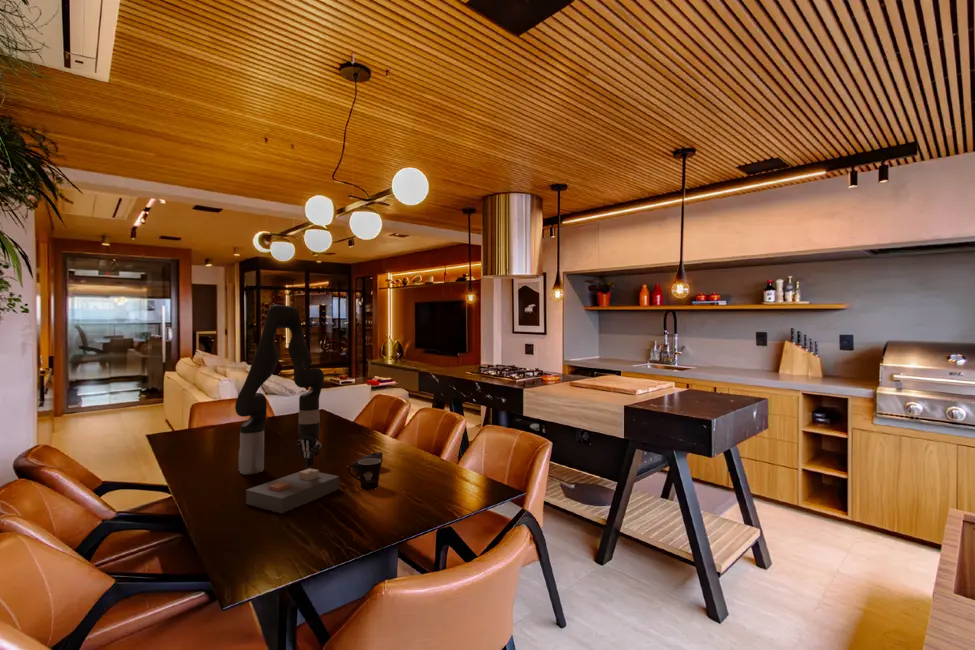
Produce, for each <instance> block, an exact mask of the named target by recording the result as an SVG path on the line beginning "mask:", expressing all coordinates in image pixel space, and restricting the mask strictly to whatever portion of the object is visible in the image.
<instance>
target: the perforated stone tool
mask: <svg viewBox="0 0 975 650" xmlns="http://www.w3.org/2000/svg"><path fill="white" fill-rule="evenodd" d="M368 458H376V459H380V460H381V465H380V469H381V468H382V465H383V452H382V451H379V452H373V453H370V454H366V455H364V456H362V457H359V458H358V459H356V460H355V461H354V462H353V463H352V465H356V466H358V461H360V460H362V459H368ZM351 468H352V471H353V472H354V473H355V474H356V473H358V474H359V470H358V469H357V468H356V467H354V466H353V467H351Z"/></svg>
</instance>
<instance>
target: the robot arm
mask: <svg viewBox="0 0 975 650" xmlns="http://www.w3.org/2000/svg"><path fill="white" fill-rule="evenodd" d="M278 328H279V329H288V330H289V331H290V332H291V338H290V340H289V343H288V347H287V349H288V350H287V351H288V354H289V357H290V359H291V362H292V364H293V365H292V366H293V381H294V384H295V385H296V386H297V387H298V388H309V390H308V391H307V392H304V393H302V394H300V395H299V398H298V400H299V402H298V407H299V408H298V420H297V421H298V427H297V428H298V430H297V431H298V435H299V439H298V440H296V441H295V442H294V444H295V446H296V449H297V450H298V451H299V454H300V456H303V457H304V465H305V468H307V469H309V468H310V469H311V468H312V467H314V457H317V456H318V455H319V454H320V452H321V451H322V449H323V447H324V443H321V442H320V441H319V439H320V438H319V433H320V432H321V431H320V430H321V427H320V426H321V423H320V422H321V421H320V418H321V414H320V396H321V392H322V387H323V384H324V381H325V375H324V372H323V370H322V369H321V368H320V367H310V366H312V362H313V358H312V355H311V353H310V350H309V349H308V347H307V343H306V341H305V337H304V331H303V325H302V320H301V317H300V313H299V311H298V309H297V308H296V307H294V306H291V305H284V304H278V303H277V304H272V305H271V306H270V307H269V309H268V311H267V313H266V317H265V320H264V325H263V329H262V334H261V337H260V341H259V342H258V343H259V344H258V345H257V348H256V351H255V354H254V356H253V359H252V361H251V365H250V367H249V371H248V373H247V376H246V378H245V381H244V384H243V385H242V387H241V390H240V391H239V394H238V396H237V398H236V401H235V406H234V409H235V413H236V414H237V415H238V416H239V417H242V418H243V417H244V418H245V417H249V418H248V419H246V421H245V422H244V423H242V424H241V425H239V426H240V427H239V449H238V472H239V471H240V472H239V474H241V473H242V474H241V475H255V473H256V474H259V472H260V473H262V472H264V471H263V470H265V426H266V423H267V406H268V402H267V399H266V396H265V395H264V394H263V393H262V392H258V390H259V389H260V388H261V386H263V384H264V383H266V382H267V380H269V378H271V376H272V375H273V374H274V372H275V371H276V369H277V368H276V367H277V365H278V363H279V360H280V354H279V353H280V352H279V350H278V346H277V344H276V338H275V336H276V332H277V329H278ZM308 367H309V368H308Z"/></svg>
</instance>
